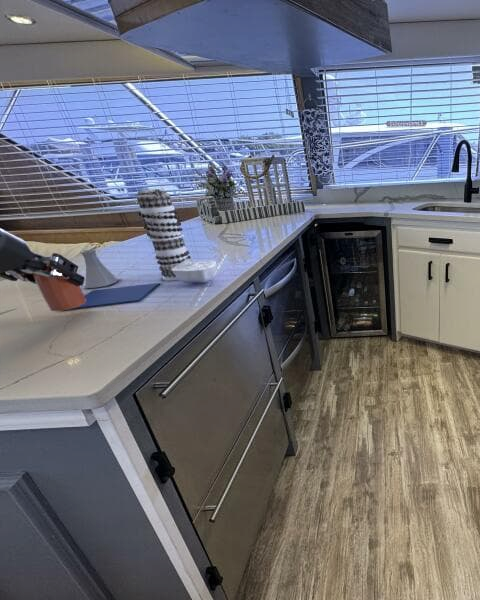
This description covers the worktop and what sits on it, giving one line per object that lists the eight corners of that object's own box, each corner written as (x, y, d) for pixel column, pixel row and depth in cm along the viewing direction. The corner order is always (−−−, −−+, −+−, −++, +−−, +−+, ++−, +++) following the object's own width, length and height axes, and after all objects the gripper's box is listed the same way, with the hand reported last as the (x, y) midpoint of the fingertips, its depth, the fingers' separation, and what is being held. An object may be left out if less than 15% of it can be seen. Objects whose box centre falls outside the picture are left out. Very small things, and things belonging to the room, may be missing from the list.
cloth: (61, 310, 76) (60, 309, 76) (93, 291, 88) (92, 290, 87) (139, 301, 80) (138, 299, 80) (159, 284, 91) (159, 282, 91)
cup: (43, 312, 69) (19, 268, 65) (61, 302, 74) (41, 260, 70) (76, 309, 70) (55, 265, 66) (92, 298, 75) (74, 257, 71)
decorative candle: (188, 279, 94) (160, 190, 84) (154, 282, 93) (121, 191, 83) (202, 270, 102) (177, 187, 92) (171, 272, 101) (142, 189, 91)
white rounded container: (200, 290, 85) (193, 265, 83) (168, 286, 89) (160, 263, 86) (230, 277, 94) (224, 255, 91) (199, 274, 98) (193, 253, 95)
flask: (94, 282, 95) (79, 249, 91) (122, 278, 97) (109, 246, 93) (80, 290, 89) (63, 255, 85) (111, 286, 91) (96, 252, 87)
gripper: (30, 222, 58) (104, 266, 74) (-58, 226, 57) (36, 270, 72) (16, 259, 55) (96, 296, 71) (-77, 264, 54) (25, 300, 70)
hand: (65, 282), depth 72 cm, fingers closed on cup, 6 cm apart
